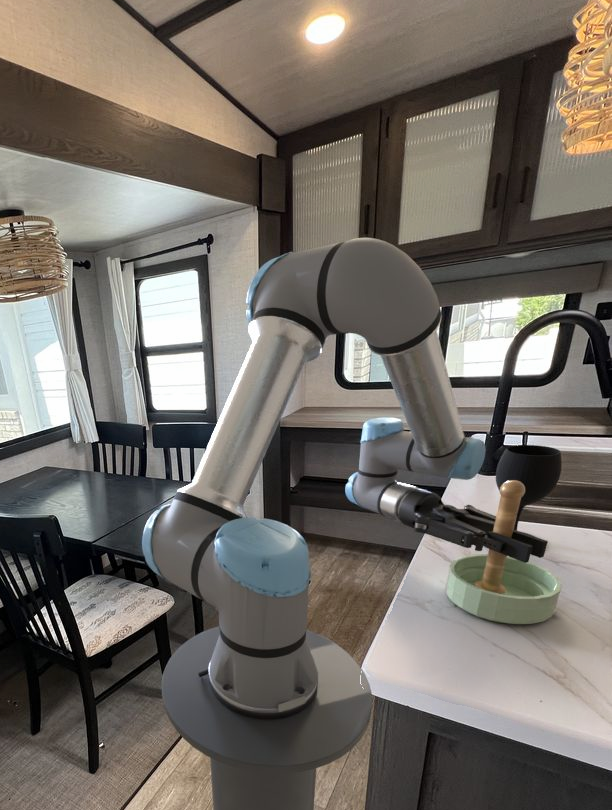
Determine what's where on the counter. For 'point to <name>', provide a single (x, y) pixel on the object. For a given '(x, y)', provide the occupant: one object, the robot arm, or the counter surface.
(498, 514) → the wooden pestle
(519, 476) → the wine glass
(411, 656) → the counter surface
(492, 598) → the bowl
